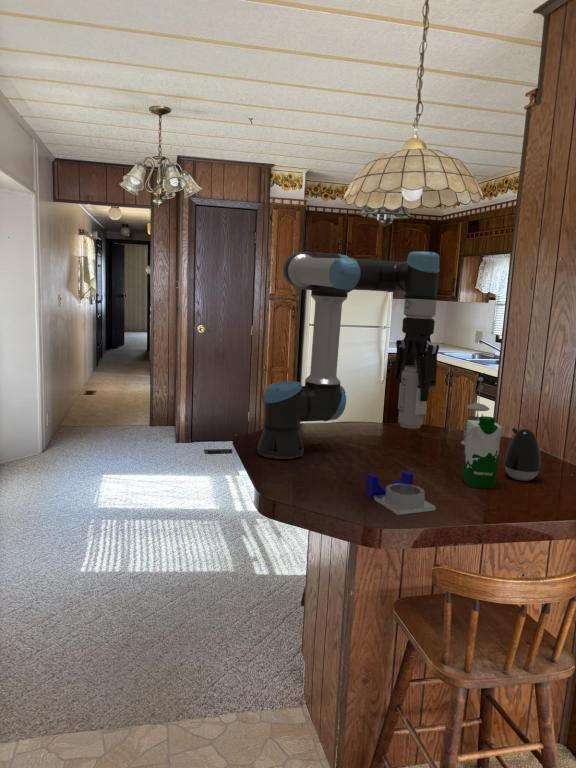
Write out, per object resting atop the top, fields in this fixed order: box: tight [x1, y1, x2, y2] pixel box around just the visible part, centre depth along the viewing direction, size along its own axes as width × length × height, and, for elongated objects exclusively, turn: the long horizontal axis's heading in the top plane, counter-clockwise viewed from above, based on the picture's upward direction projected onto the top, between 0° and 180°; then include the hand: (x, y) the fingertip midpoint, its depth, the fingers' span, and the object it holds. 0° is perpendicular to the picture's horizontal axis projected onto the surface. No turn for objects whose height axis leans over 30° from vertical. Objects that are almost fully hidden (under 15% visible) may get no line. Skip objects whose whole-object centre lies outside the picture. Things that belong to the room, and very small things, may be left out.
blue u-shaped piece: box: [365, 470, 414, 500], centre depth 153 cm, size 12×4×6 cm, turn 110°
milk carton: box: [462, 415, 503, 490], centre depth 164 cm, size 9×9×20 cm
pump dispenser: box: [503, 427, 542, 482], centre depth 172 cm, size 10×10×15 cm
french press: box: [460, 377, 490, 446], centre depth 209 cm, size 10×12×25 cm
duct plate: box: [373, 483, 436, 516], centre depth 146 cm, size 11×11×4 cm
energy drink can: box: [397, 364, 425, 430], centre depth 142 cm, size 6×6×15 cm
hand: (411, 411), depth 142 cm, fingers closed on energy drink can, 6 cm apart
